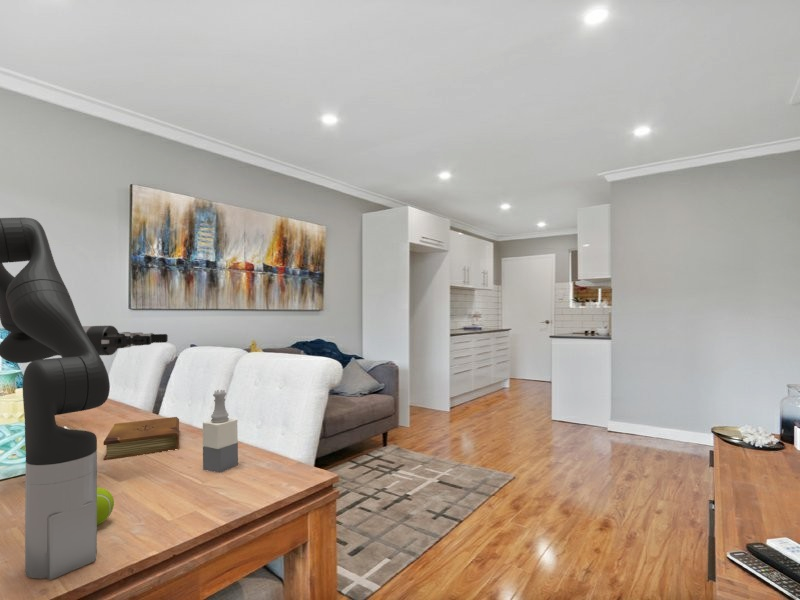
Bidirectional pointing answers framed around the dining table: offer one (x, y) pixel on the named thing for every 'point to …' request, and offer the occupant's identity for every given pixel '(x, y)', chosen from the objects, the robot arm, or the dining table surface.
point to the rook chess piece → (219, 408)
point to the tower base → (220, 458)
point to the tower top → (220, 434)
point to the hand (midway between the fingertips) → (159, 339)
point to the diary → (142, 437)
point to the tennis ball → (104, 504)
